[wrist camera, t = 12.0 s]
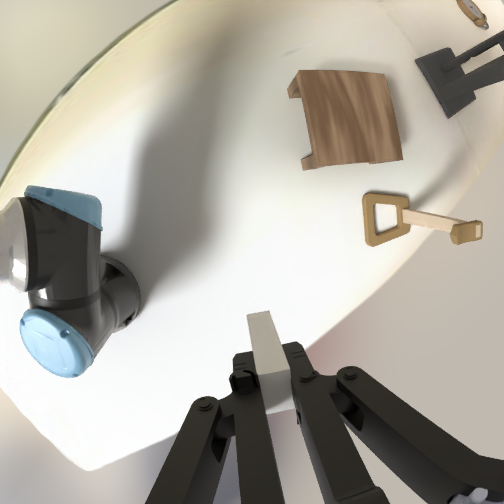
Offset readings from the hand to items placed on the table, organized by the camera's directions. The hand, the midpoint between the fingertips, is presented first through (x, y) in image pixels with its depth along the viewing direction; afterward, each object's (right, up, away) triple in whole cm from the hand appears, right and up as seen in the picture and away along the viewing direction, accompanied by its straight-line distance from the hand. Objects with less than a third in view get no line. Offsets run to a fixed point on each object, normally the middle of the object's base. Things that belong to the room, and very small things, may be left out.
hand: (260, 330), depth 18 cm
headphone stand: (+27, +12, +33) cm, 44 cm away
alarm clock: (+76, +88, +22) cm, 118 cm away
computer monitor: (+49, +49, +27) cm, 74 cm away
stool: (+8, +27, +24) cm, 36 cm away
